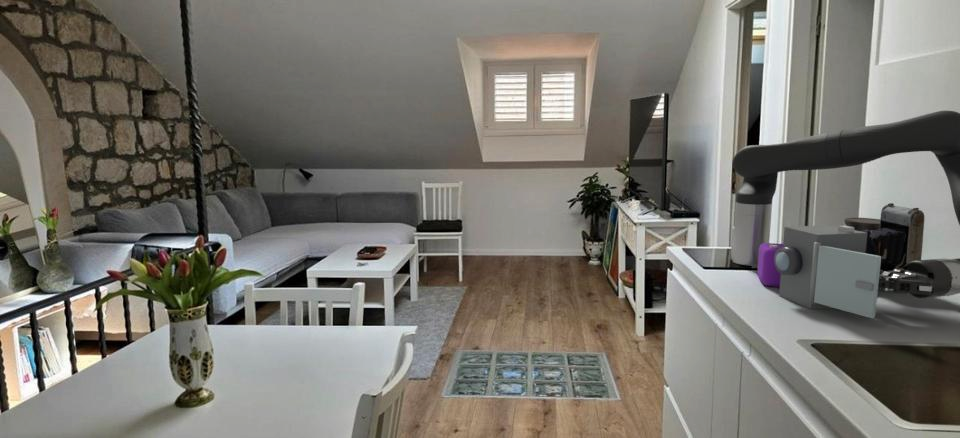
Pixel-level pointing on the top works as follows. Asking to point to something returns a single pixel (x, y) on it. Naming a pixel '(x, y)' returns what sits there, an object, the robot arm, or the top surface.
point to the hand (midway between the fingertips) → (863, 284)
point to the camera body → (810, 257)
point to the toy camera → (768, 264)
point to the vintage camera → (897, 237)
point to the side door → (845, 280)
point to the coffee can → (863, 224)
